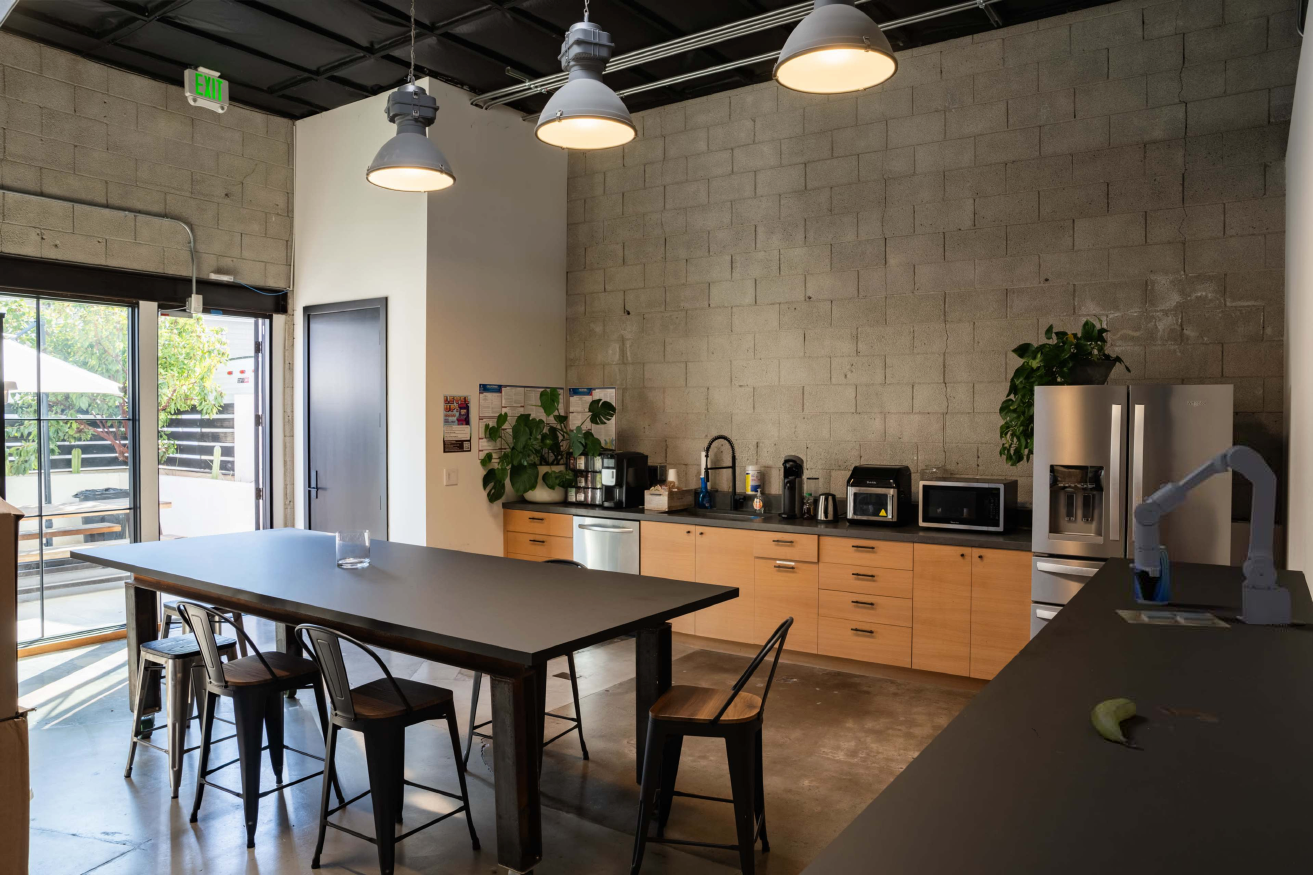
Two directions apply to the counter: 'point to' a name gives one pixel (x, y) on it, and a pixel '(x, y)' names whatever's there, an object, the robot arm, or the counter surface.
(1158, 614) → the tile far
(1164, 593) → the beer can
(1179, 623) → the cork mat
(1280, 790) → the counter surface
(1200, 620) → the tile near
